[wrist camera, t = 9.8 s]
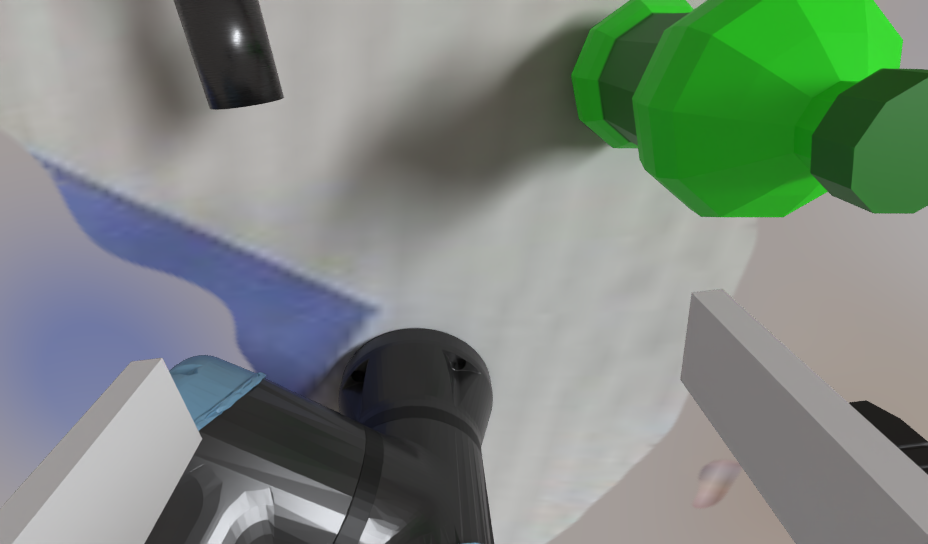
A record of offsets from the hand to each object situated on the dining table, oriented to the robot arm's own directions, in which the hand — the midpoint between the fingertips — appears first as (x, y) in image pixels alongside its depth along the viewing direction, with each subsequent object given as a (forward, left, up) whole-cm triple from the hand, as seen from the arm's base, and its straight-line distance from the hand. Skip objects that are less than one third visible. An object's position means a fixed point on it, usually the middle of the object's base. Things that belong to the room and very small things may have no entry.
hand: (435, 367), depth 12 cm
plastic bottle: (+3, -15, -29) cm, 33 cm away
